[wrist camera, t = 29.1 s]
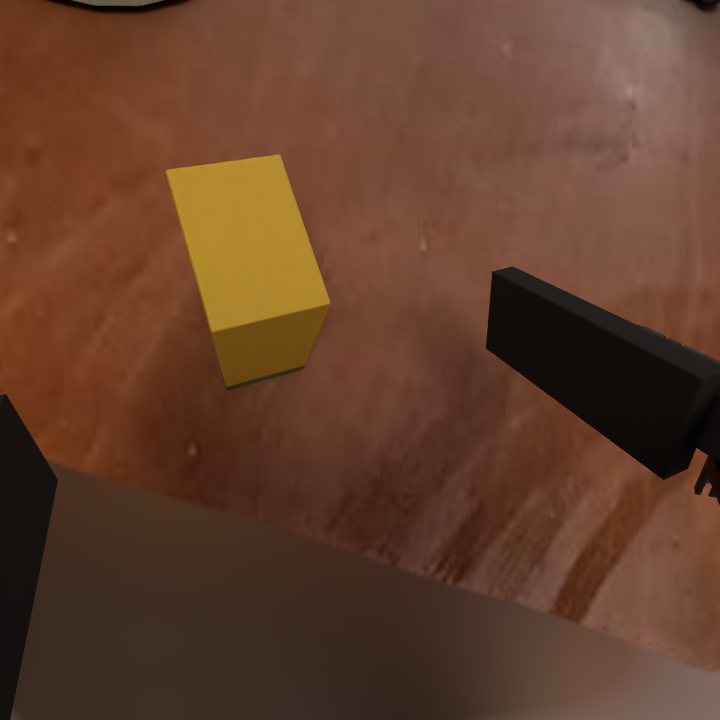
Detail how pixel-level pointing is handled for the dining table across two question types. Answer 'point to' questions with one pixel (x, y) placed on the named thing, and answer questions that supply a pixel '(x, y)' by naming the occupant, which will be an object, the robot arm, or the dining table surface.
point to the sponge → (251, 266)
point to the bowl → (118, 2)
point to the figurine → (711, 1)
